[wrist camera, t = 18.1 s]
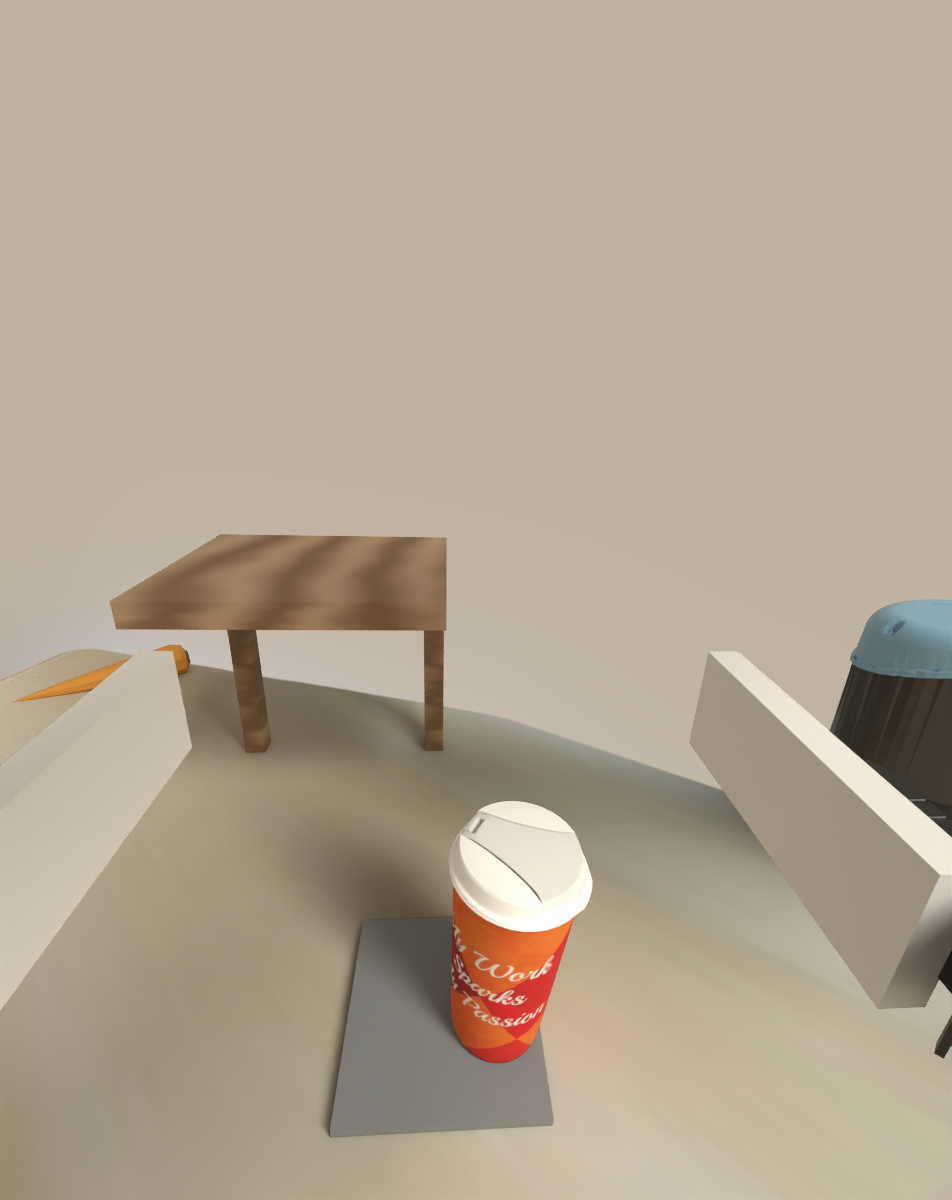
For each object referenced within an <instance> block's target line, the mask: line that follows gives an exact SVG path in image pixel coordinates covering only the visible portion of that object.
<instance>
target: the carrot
mask: <svg viewBox="0 0 952 1200" xmlns="http://www.w3.org/2000/svg"><path fill="white" fill-rule="evenodd" d="M153 651H173V655H174V660H175V664H176V669H177V674H178V675H179V674H182V673H184V672H186V671H187V670H188V665H189V663H190V659H189V655H188V652H187V651H185V650H184V649H183V648H182V647H181V645H168V646H165V647H162V648H159V649H156V650H153ZM128 660H129V659H127V660H124V661H122V662H119V663H116V664H113V665H110V666H107V667H104V668H101V669H99V670H96V671H93V672H90V673H87V674H84V675H81V676H79V677H76V678H73V679H70V680H67V681H64V682H62V683H59V684H57V685H54V686H52V687H49V688H47V689H44V690H41V691H39V692H36V693H34V694H31V695H29V696H26V697H24V698H21V699H19V700H16V701H14V702H17V701H24V700H31V699H37V698H44V697H51V696H58V695H65V694H71V693H77V692H83V691H89V690H93V689H94V688H95V687H96V686H97V685H99V684H100V683H101V682H102V681H103V680H105V679H106V678H107V677H108V676H110V675H111V674H112V673H113V672H114V671H116V670H117V669H118V668H119V667H120V666H122V665H123V664H124V663H125V662H127V661H128Z"/></svg>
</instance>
